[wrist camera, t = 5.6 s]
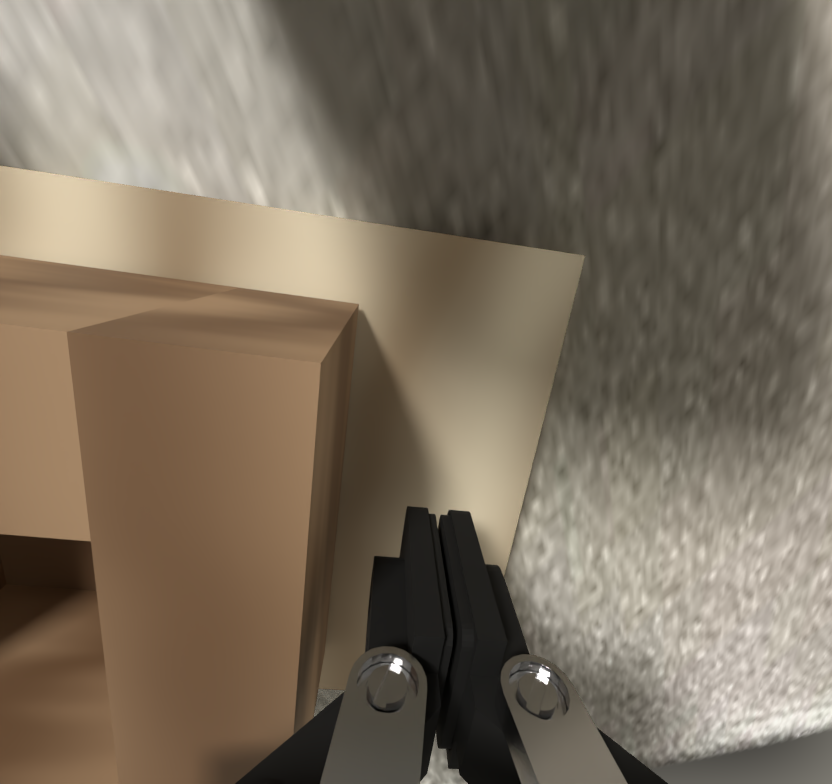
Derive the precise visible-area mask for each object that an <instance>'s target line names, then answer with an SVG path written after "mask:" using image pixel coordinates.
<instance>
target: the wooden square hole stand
mask: <svg viewBox="0 0 832 784" xmlns="http://www.w3.org/2000/svg"><path fill="white" fill-rule="evenodd" d="M0 255H4V256H11V257H19V258H26V259H33V260H41V261H48V262H55V263H63V264H70V265H77V266H85V267H92V268H99V269H107V270H114V271H121V272H129V273H136V274H143V275H151V276H158V277H165V278H173V279H180V280H187V281H194V282H202V283H209V284H216V285H224V286H231V287H238V288H246V289H253V290H260V291H268V292H275V293H282V294H290V295H297V296H304V297H312V298H319V299H326V300H334V301H341V302H348V303H356V304H359V309H358V319H357V329H356V339H355V349H354V359H353V370H352V380H351V390H350V400H349V410H348V420H347V431H346V441H345V451H344V461H343V471H342V481H341V491H340V502H339V512H338V522H337V532H336V542H335V552H334V563H333V573H332V583H331V593H330V603H329V613H328V624H327V634H326V644H325V653H324V659H323V665H322V671H321V676H320V682H319V688H318V689H334V690H345V688H346V684H347V681H348V677H349V673H350V671H351V669H352V667H353V665H354V663H355V661H356V660H357V659H358V658H359V657H360V656H361V655H362V654H364V653H365V645H366V631H367V618H368V606H369V595H370V586H371V577H372V569H373V561H374V556H385V557H398V558H399V556H400V549H401V542H402V535H403V528H404V521H405V515H406V509H407V506H412V507H424V508H428V512H429V514H435V515H436V521H437V527H438V525H439V519H440V515H447V513H448V511H449V510H459V511H469V512H470V513H471V516H472V520H473V523H474V527H475V530H476V534H477V537H478V541H479V544H480V548H481V551H482V555H483V558H484V562H485V564H491V565H498V566H499V567H500V569H501V571H502V574H503V577H504V575H505V571H506V567H507V563H508V559H509V555H510V551H511V547H512V543H513V539H514V535H515V531H516V527H517V523H518V520H519V516H520V512H521V508H522V504H523V500H524V496H525V492H526V488H527V484H528V480H529V476H530V472H531V468H532V464H533V460H534V456H535V452H536V449H537V445H538V441H539V437H540V433H541V429H542V425H543V421H544V417H545V413H546V409H547V405H548V401H549V397H550V393H551V389H552V385H553V381H554V378H555V374H556V370H557V366H558V362H559V358H560V354H561V350H562V346H563V342H564V338H565V334H566V330H567V326H568V322H569V318H570V314H571V310H572V306H573V303H574V299H575V295H576V291H577V287H578V283H579V279H580V275H581V271H582V267H583V263H584V259H585V255H578V254H572V253H565V252H559V251H552V250H546V249H539V248H533V247H526V246H520V245H513V244H507V243H500V242H494V241H487V240H481V239H474V238H468V237H461V236H455V235H448V234H442V233H435V232H429V231H422V230H416V229H409V228H403V227H396V226H390V225H383V224H377V223H370V222H364V221H357V220H351V219H344V218H338V217H331V216H325V215H318V214H312V213H305V212H299V211H292V210H286V209H279V208H273V207H266V206H260V205H253V204H247V203H240V202H234V201H227V200H221V199H214V198H208V197H201V196H195V195H188V194H182V193H175V192H169V191H162V190H156V189H149V188H143V187H136V186H130V185H123V184H117V183H110V182H104V181H97V180H91V179H84V178H78V177H71V176H65V175H58V174H52V173H45V172H39V171H32V170H26V169H19V168H13V167H6V166H0Z"/></svg>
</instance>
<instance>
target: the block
mask: <svg viewBox="0 0 832 784" xmlns="http://www.w3.org/2000/svg"><path fill="white" fill-rule="evenodd" d="M358 309H359V304H356V303H348V302H341V301H334V300H326V299H319V298H312V297H304V296H297V295H290V294H282V293H275V292H268V291H260V290H253V289H246V288H238V287H231V286H224V285H216V284H209V283H202V282H194V281H187V280H180V279H173V278H165V277H158V276H151V275H143V274H136V273H129V272H121V271H114V270H107V269H99V268H92V267H85V266H77V265H70V264H63V263H55V262H48V261H41V260H33V259H26V258H19V257H11V256H4V255H0V784H235V783H236V782H237V781H239V780H240V779H241V778H242V777H243V776H245V775H246V774H247V773H248V772H249V771H251V770H252V769H253V768H254V767H255V766H257V765H258V764H259V763H260V762H261V761H262V760H264V759H265V758H266V757H267V756H268V755H270V754H271V753H272V752H273V751H274V750H276V749H277V748H278V747H279V746H280V745H282V744H283V743H284V742H285V741H286V740H288V739H289V738H290V737H291V736H292V735H293V734H295V733H296V732H297V731H298V730H299V729H301V728H302V727H303V726H304V725H305V724H307V723H308V722H309V721H310V720H311V719H313V717H314V711H315V705H316V700H317V694H318V688H319V682H320V676H321V671H322V665H323V659H324V653H325V644H326V634H327V624H328V613H329V603H330V593H331V583H332V573H333V563H334V552H335V542H336V532H337V522H338V512H339V502H340V491H341V481H342V471H343V461H344V451H345V441H346V431H347V420H348V410H349V400H350V390H351V380H352V370H353V359H354V349H355V339H356V329H357V319H358Z"/></svg>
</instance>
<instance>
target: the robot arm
mask: <svg viewBox="0 0 832 784" xmlns="http://www.w3.org/2000/svg"><path fill="white" fill-rule="evenodd" d="M435 733H436V735H437V744H438V748H439V749H446V750H447V759H448V769H459V774H460V775H461V776H462V778H463V779H464V780H465V781H466V782H467V783H468V784H668V783H667V782H665V781H664V780H663V779H661V778H660V777H659V776H658V775H656V774H655V773H654V772H652V771H651V770H650V769H649V768H647V767H646V766H645V765H644V764H642V763H641V762H640V761H639V760H637V759H636V758H635V757H634V756H632V755H631V754H630V753H628V752H627V751H626V750H625V749H623V748H622V747H621V746H620V745H618V744H617V743H616V742H614V741H613V740H612V739H611V738H609V737H608V736H607V735H606V734H604V733H603V732H602V731H601V730H599V729H598V728H597V727H596V726H595V724H594V722H593V720H592V718H591V717H590V715H589V713H588V711H587V709H586V708H585V706H584V704H583V702H582V700H581V699H580V697H579V695H578V693H577V691H576V690H575V688H574V686H573V684H572V683H571V682H570V680H569V679H568V677H567V676H566V675H565V673H563V672H562V671H561V670H560V669H559V668H558V667H557V666H556V665H554V664H553V663H551V662H549V661H548V660H546V659H544V658H541V657H538V656H535V655H529V652H528V649H527V646H526V643H525V640H524V637H523V634H522V631H521V628H520V625H519V622H518V619H517V616H516V613H515V610H514V607H513V604H512V601H511V598H510V595H509V592H508V589H507V586H506V583H505V580H504V577H503V574H502V571H501V569H500V567H499V566H498V565H491V564H485V562H484V558H483V555H482V551H481V548H480V544H479V541H478V537H477V534H476V530H475V527H474V523H473V520H472V516H471V513H470V512H469V511H459V510H449V511H448V513H447V515H440V519H439V525H438V527H437V521H436V515H435V514H429V512H428V508H424V507H412V506H407V509H406V515H405V521H404V528H403V535H402V542H401V549H400V556H399V558H398V557H385V556H374V561H373V569H372V577H371V586H370V595H369V606H368V618H367V631H366V645H365V653H364V654H362V655H361V656H360V657H359V658H358V659H357V660H356V661H355V663H354V665H353V667H352V669H351V671H350V673H349V677H348V681H347V684H346V688H345V692H344V693H342V694H341V695H340V696H339V697H338V698H336V699H335V700H334V701H333V702H332V703H330V704H329V705H328V706H327V707H326V708H324V709H323V710H322V711H321V712H320V713H319V714H317V715H316V716H315V717H314V718H313V719H311V720H310V721H309V722H308V723H307V724H305V725H304V726H303V727H302V728H301V729H299V730H298V731H297V732H296V733H295V734H293V735H292V736H291V737H290V738H289V739H288V740H286V741H285V742H284V743H283V744H282V745H280V746H279V747H278V748H277V749H276V750H274V751H273V752H272V753H271V754H270V755H268V756H267V757H266V758H265V759H264V760H262V761H261V762H260V763H259V764H258V765H257V766H255V767H254V768H253V769H252V770H251V771H249V772H248V773H247V774H246V775H245V776H243V777H242V778H241V779H240V780H239V781H237V782H236V783H235V784H420V781H421V780H422V779H423V778H424V776H425V775H426V774H427V771H428V766H429V761H430V756H431V752H432V747H433V742H434V737H435Z"/></svg>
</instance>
